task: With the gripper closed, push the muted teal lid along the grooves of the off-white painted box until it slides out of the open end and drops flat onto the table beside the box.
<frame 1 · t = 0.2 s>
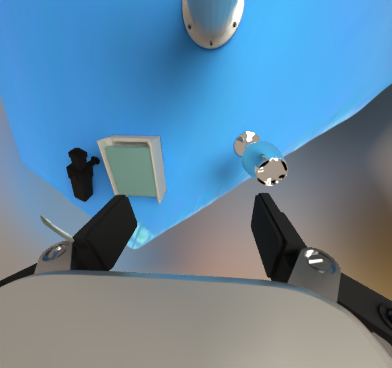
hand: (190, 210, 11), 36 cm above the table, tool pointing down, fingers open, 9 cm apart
box: (142, 165, 50), on the table
wineglass: (246, 144, 43), on the table
toy gun: (94, 170, 53), on the table
lid: (136, 171, 45), point 5 cm above the table, touching box
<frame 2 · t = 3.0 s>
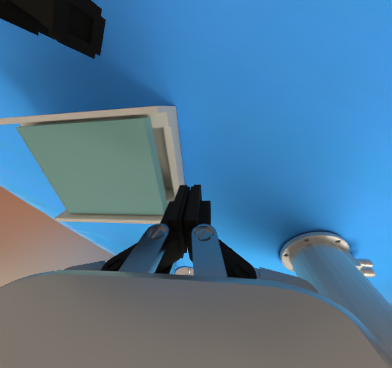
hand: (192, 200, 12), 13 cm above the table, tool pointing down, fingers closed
box: (126, 159, 25), on the table
toy gun: (48, 1, 17), on the table
lid: (107, 170, 21), point 5 cm above the table, touching box
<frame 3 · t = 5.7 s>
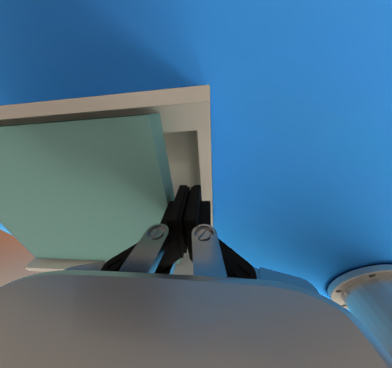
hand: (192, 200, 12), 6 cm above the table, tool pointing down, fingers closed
box: (129, 174, 18), on the table
lid: (90, 197, 13), point 5 cm above the table, touching gripper
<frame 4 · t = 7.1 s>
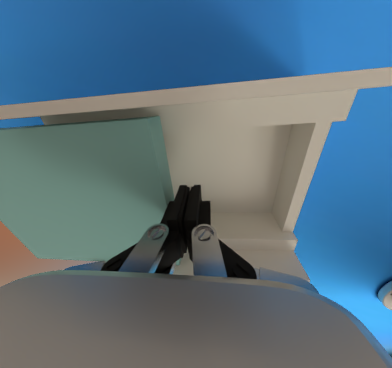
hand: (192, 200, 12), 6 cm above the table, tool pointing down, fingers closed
box: (195, 171, 17), on the table
lid: (91, 198, 13), point 5 cm above the table, touching gripper
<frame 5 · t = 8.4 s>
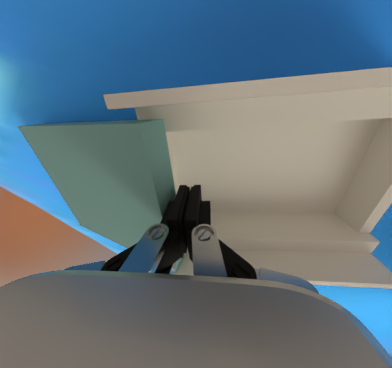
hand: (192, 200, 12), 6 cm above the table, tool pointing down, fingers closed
box: (257, 169, 16), on the table
lid: (114, 188, 15), point 3 cm above the table, tilted 21°
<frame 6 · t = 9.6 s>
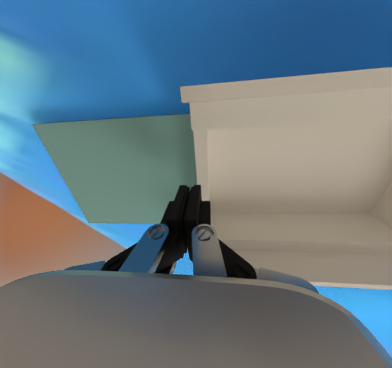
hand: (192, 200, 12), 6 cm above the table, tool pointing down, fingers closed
box: (292, 169, 15), on the table
lid: (136, 174, 18), on the table
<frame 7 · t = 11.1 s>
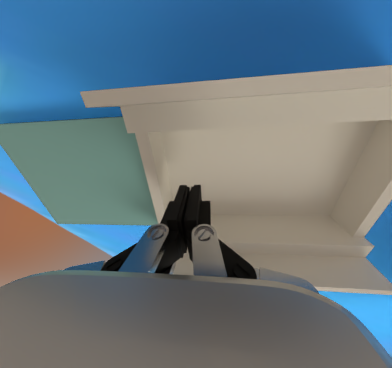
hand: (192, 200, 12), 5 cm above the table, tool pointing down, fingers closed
box: (251, 171, 16), on the table
lid: (101, 175, 18), on the table
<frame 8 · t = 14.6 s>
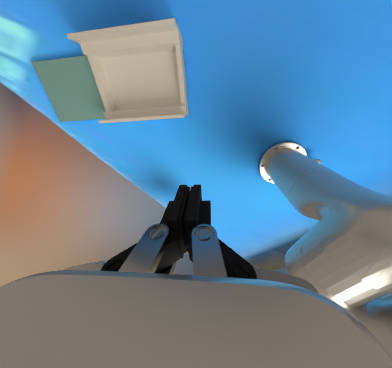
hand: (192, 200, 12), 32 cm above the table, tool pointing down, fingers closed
box: (145, 84, 35), on the table
lid: (81, 92, 38), on the table
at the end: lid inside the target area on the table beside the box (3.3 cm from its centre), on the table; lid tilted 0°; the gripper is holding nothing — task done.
